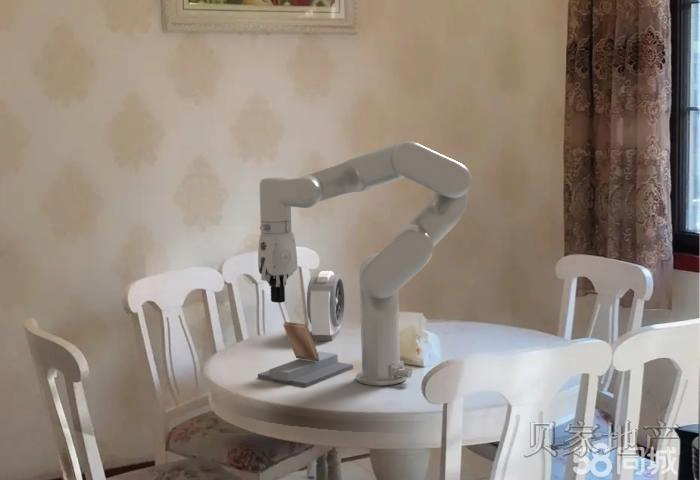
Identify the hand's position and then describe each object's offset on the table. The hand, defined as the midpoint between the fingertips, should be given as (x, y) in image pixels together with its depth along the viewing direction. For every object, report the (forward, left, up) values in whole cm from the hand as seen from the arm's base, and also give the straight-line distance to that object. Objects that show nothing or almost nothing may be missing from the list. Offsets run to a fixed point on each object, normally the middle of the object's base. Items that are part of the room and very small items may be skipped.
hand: (278, 301), depth 207 cm
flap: (0, -8, -12) cm, 14 cm away
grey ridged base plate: (0, -9, -20) cm, 22 cm away
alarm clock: (+20, -45, -21) cm, 53 cm away
